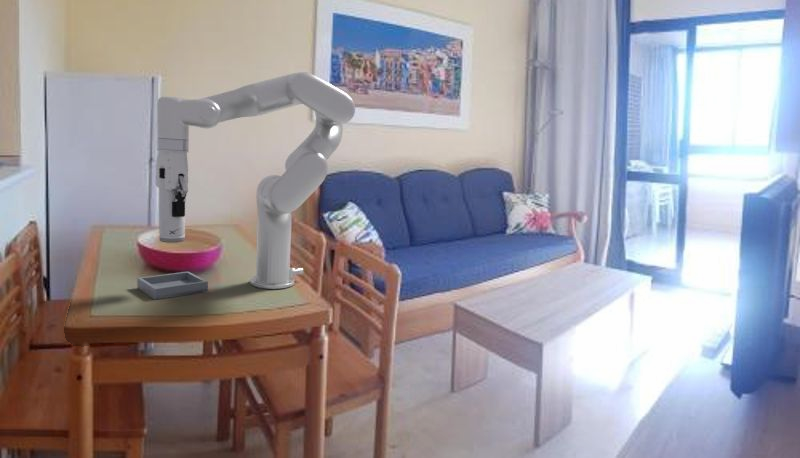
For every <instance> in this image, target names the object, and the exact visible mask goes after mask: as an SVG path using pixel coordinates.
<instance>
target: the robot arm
mask: <svg viewBox="0 0 800 458" xmlns="http://www.w3.org/2000/svg"><path fill="white" fill-rule="evenodd" d="M156 105H157V107H156V114H157V116H156V119H157V120H156V121H157V122H156V132H157V133H156V134H157V135H156V137H157V140H156V143H157V144H156V145H157V146H156V148H157V149H156V151H157V157H156V166H155V167H156V168H155V186H156V187H157V188H158V189H159V180H160V179H159V175H160V174H159V168H165V175H164V176H165V181H164V182H165V189H166V190H167V191H171V190H172V194H173V200H174V202H172V217H184V216H185V217H186V202H187V201H186V199H187V198H186V197H187V195H188V191H189V188H188V187H189V164H188V162H189V161H188V153H189V150H190V149H189V147H190V146H189V145H190V143H189V142H190V140H189V139H190V137H189V136H190V131H189V130H190V127H197V128H201V129H207V130H208V129H211V128H214V127H217V126H218V125H219V124H220V123H223V122H226V121H231V120H236V119H240V118H241V119H242V118H252V117H257V116H263V115H267V114H269V113H273V112H277V111H280V110H284V109H287V108H291V107H294V106H298V105H304V106H305V107H307V108H309V109H310V110H313V111H314V113H315V126H314V127H313V129H312V131H311V132H310V134H309V135H307V137H306V138H305V139H304V140H303V141H302V143H300V144H299V145H298V146H297V147H296V148H295V150H293V151H292V152H291V153H290V154H289V155H288V156H287V158H286V160H285V163H284V166H285V167H284V168H285V171H284V173H282V175H277V174H271V175H267V176H266V177H264V178H262V179H261V181H260V182H259V183H258V185H257V188H256V208H257V209H256V210H257V212H256V213H257V232H256V233H257V235H256V239H257V240H256V266H255V276H252V277H250V280H249V281H250V282H249V283H250V285H252V286H253V287H255V288H260V289H267V290H278V289H279V290H280V289H286V288H290V287H292V286H293V285H295V278H294V277H295V275H297V276H298V275H299V276H300V275H303V273H304V268H303V267H296V268H295V267H291V243H292V241H291V240H292V212H294V211H296V210H297V209H298V208H300V207H301V206H302V205H303V204H304V203H305V201H307V200H308V199H309V197H310V196H311V195H312V194H313V193H314V192H315V191H316V190H317V189H318V188H319V187H320V186H321V185H322V183H323V182H324V181H325V179H326V177H327V175H328V172H329V165H328V160H329V159H330V157H331V156H332V155H333V153H334V152H335V151H336V150H337V149H338V147H339V146H340V144H341V141H342V139H343V131H344V128H343V127H344V126H343V125H344V124H346V123H348V122H350V121H351V120H352V119H353V117H355V113H356V106H355V101H354V100H353V99H352V97H351V96H350V95H349V94H347V93H346V92H345V91H343V90H341V89H339V88H337V87H336V86H334V85H332V84H331V83H329V82H327V81H325V80H323V79H322V78H320V77H318V76H316V75H314V74H312V73H310V72H307V71H300V72H295V73H290V74H285V75H282V76H278V77H274V78H270V79H266V80H263V81H262V80H261V81H257V82H254V83H251V84H250V83H249V84H247V85H244V86H241V87H238V88H235V89H233V90H229V91H226V92H221V93H218V94H214V95H210V96H205V97H202V98H199V99H191V98H190V99H187V98H183V97H177V96H161V97H159V98H158V99H157V104H156ZM176 187H180V188H181V189H175V188H176ZM176 192H179V193H178V195H177V194H176Z"/></svg>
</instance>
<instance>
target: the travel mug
mask: <svg viewBox="0 0 800 458" xmlns="http://www.w3.org/2000/svg"><path fill="white" fill-rule="evenodd" d="M159 174H160V175H159V179H160V180H159V188H158V191H159V192H158V198H159V199H158V203H159V204H158V205H159V209H158V210H159V211H158V213H159V214H158V218H159V225H158V226H159V231H158V233H159V235H158V236H159V239H158V240H159V241H160V242H161V243H168V244H175V243H176V244H177V243H183V242H184V241H185V240H186V235H185V234H186V215H185V216H184V217H172V202H174V200H173V194H172V190H171V191H167V190H166V189H165V182H164V181H165V176H164V175H165V168H159ZM175 189H181V188H180V187H176V188H175ZM178 193H179V192H176V194H177V195H178Z"/></svg>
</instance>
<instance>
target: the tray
mask: <svg viewBox="0 0 800 458" xmlns="http://www.w3.org/2000/svg"><path fill="white" fill-rule="evenodd" d="M136 281H137V289H138V290H140V291H142V293H144V294H146V295H148V297H151V298H152V299H154V300H161V299H163V300H164V299H167V298H174V297H181V296H189V295H194V294H200V293H208V291H209V289H208V287H209V286H208V285H209V281H208V280H206V279H204V278H202V277H199V276H198V275H196V274H194V273H193V272H190V271H181V272H175V273H167V274H166V273H165V274H160V275H159V274H158V275H151V276H150V275H149V276H141V277H137V280H136Z"/></svg>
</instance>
